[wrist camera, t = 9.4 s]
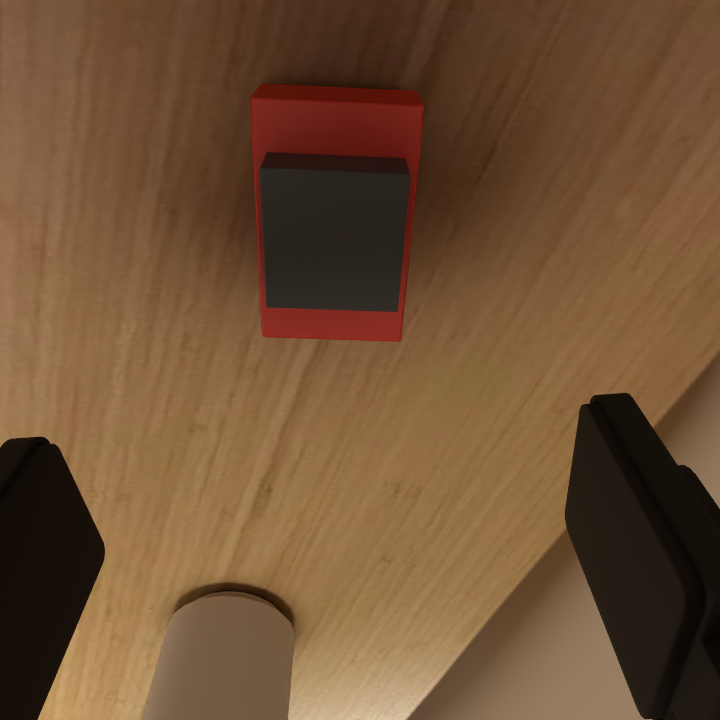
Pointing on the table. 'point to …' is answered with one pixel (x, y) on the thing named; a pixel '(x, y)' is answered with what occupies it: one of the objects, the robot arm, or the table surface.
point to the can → (223, 661)
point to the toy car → (334, 208)
